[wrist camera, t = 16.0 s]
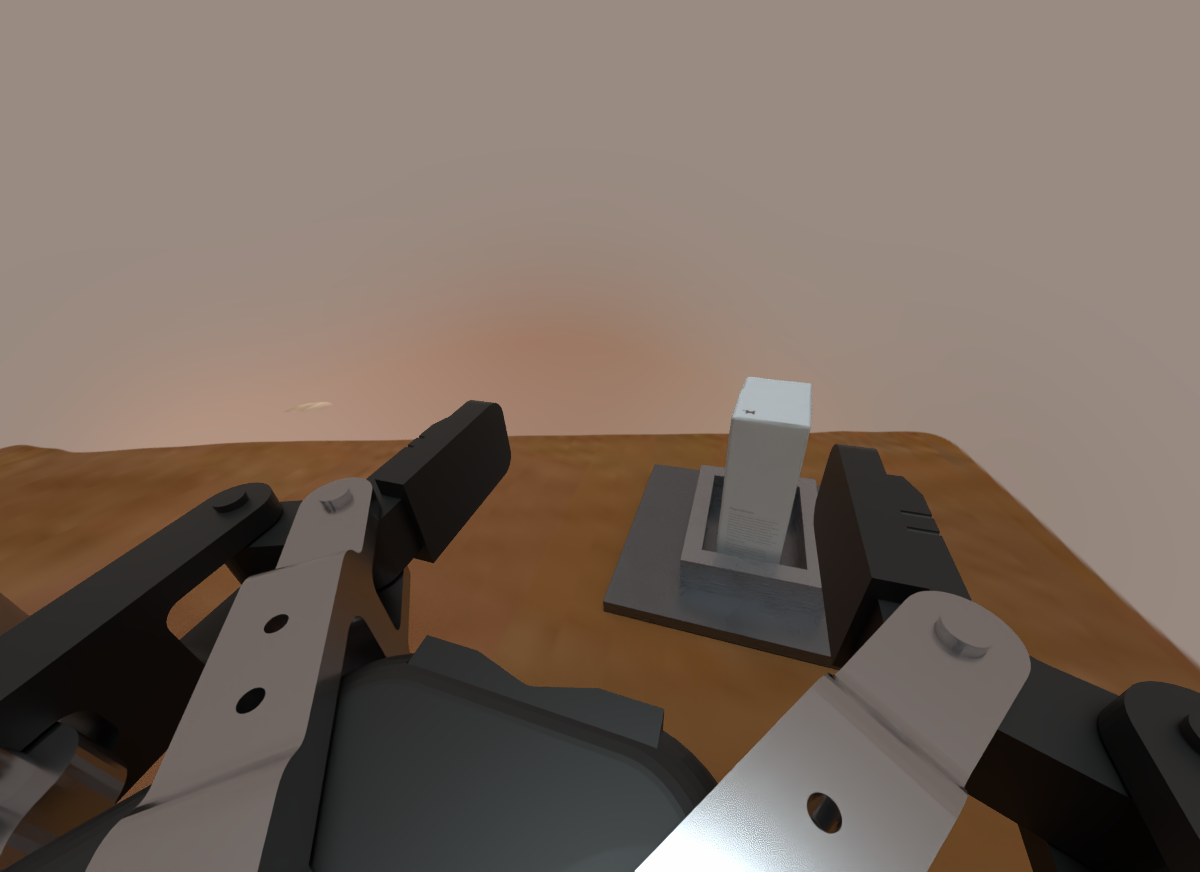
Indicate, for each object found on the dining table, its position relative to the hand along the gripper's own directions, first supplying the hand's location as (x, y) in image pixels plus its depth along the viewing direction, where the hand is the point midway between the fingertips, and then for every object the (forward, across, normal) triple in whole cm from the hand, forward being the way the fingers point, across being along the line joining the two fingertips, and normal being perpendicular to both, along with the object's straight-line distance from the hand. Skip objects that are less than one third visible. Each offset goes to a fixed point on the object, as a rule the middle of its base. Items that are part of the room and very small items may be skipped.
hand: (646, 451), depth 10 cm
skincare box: (+16, -4, +18) cm, 25 cm away
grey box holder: (+16, -4, +19) cm, 25 cm away
